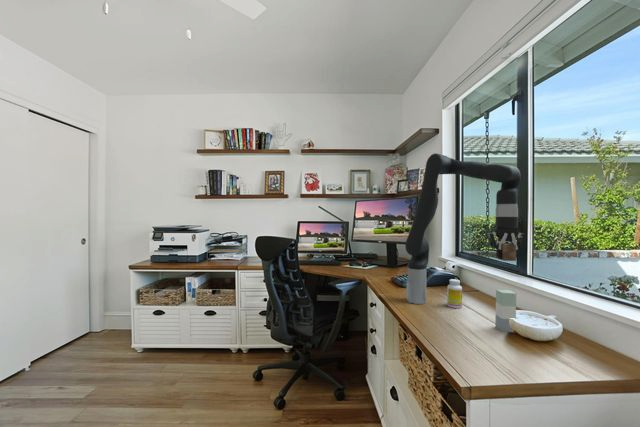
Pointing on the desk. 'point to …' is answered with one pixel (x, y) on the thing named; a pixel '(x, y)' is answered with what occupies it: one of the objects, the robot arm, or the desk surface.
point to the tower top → (506, 298)
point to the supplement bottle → (454, 294)
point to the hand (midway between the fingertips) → (506, 258)
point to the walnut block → (508, 252)
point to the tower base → (503, 324)
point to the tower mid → (505, 311)
